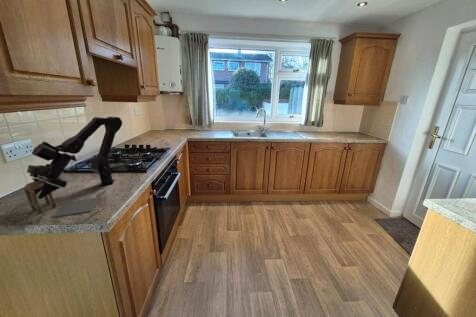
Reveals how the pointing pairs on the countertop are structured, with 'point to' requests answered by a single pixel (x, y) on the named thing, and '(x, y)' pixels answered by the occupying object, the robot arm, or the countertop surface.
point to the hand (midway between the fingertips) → (35, 197)
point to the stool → (32, 187)
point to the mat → (76, 207)
